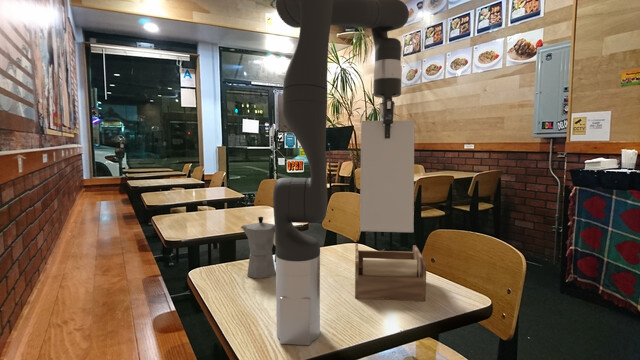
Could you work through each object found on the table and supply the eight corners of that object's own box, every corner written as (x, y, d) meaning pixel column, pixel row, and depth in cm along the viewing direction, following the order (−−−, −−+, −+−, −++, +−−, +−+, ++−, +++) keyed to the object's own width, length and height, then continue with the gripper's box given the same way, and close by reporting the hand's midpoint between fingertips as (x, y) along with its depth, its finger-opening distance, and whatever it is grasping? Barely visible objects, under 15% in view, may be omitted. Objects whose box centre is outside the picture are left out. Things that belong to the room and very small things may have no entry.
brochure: (410, 230, 101) (411, 124, 102) (413, 232, 95) (414, 120, 96) (359, 228, 102) (361, 124, 103) (360, 231, 97) (361, 120, 98)
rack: (425, 301, 92) (426, 263, 91) (355, 298, 94) (355, 261, 93) (414, 277, 108) (415, 245, 107) (355, 275, 110) (355, 243, 109)
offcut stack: (416, 298, 94) (417, 261, 93) (362, 295, 95) (363, 259, 94) (413, 292, 98) (414, 256, 97) (362, 290, 99) (362, 254, 98)
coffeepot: (235, 277, 108) (233, 218, 107) (248, 266, 118) (247, 213, 116) (283, 281, 105) (283, 221, 103) (293, 270, 114) (292, 215, 113)
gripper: (404, 73, 91) (403, 140, 93) (398, 83, 105) (397, 141, 107) (375, 73, 92) (373, 140, 93) (372, 83, 106) (371, 141, 108)
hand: (386, 140), depth 100 cm, fingers closed on brochure, 5 cm apart
